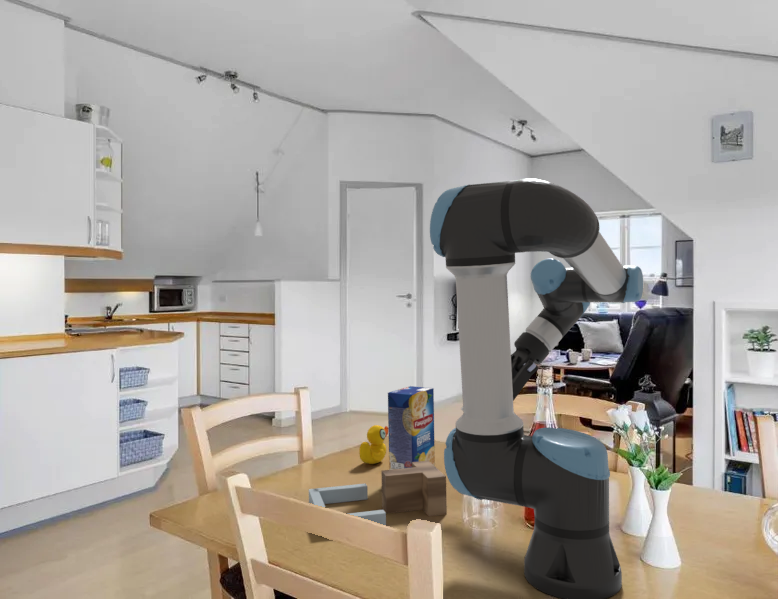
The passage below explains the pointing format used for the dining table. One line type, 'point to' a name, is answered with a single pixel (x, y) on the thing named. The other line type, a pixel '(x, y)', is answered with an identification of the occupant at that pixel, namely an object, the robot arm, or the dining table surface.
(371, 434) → the duckling
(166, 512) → the dining table surface
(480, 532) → the dining table surface
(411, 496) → the t block
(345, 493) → the fence
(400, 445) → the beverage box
